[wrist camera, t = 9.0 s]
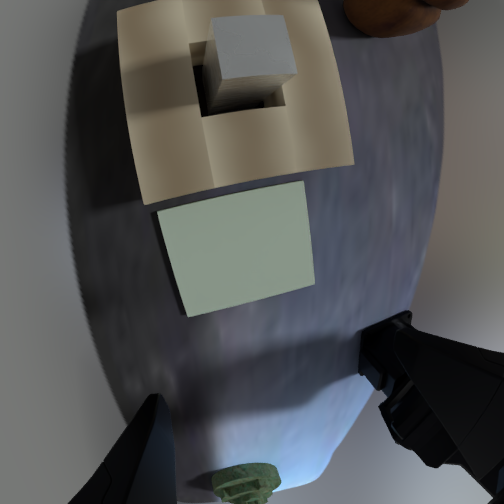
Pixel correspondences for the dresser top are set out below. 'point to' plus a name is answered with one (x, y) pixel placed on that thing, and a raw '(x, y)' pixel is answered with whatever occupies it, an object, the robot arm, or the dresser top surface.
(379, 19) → the wooden figurine
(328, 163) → the hole block
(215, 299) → the mat
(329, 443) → the dresser top surface
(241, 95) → the pin
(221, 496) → the decorative artifact
